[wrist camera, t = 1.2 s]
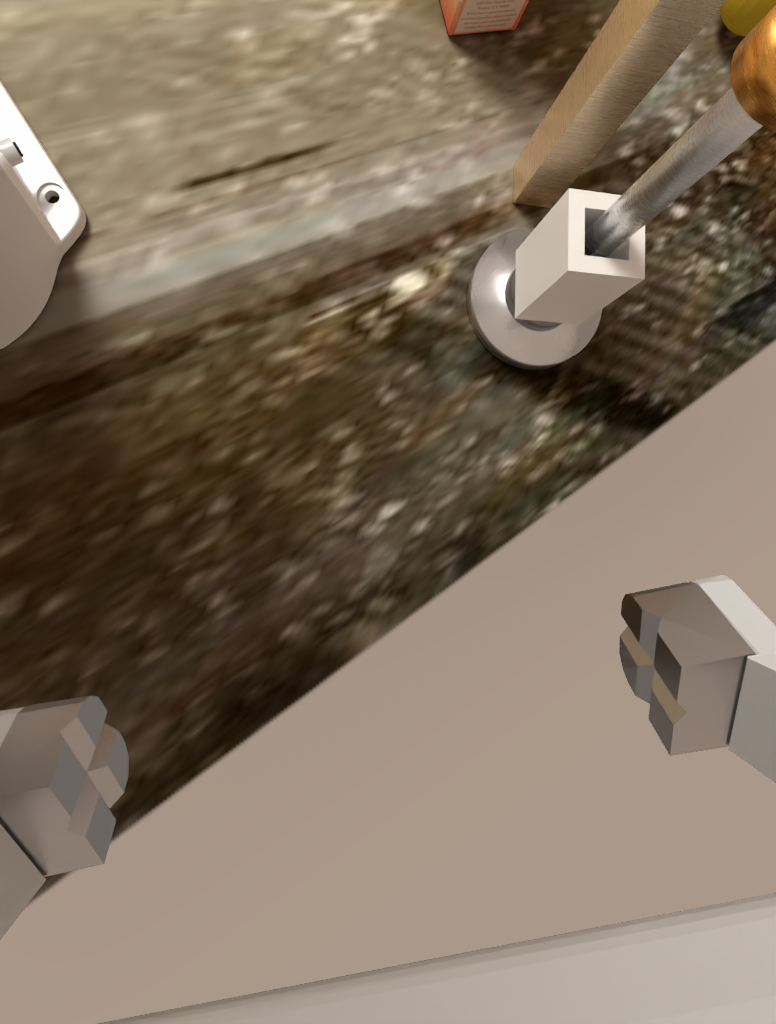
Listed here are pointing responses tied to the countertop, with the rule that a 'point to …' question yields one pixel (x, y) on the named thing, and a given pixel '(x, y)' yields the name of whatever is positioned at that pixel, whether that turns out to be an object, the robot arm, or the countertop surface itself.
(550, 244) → the sleeve
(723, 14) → the lemon
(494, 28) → the cracker box
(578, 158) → the rod stand
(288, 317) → the countertop surface
